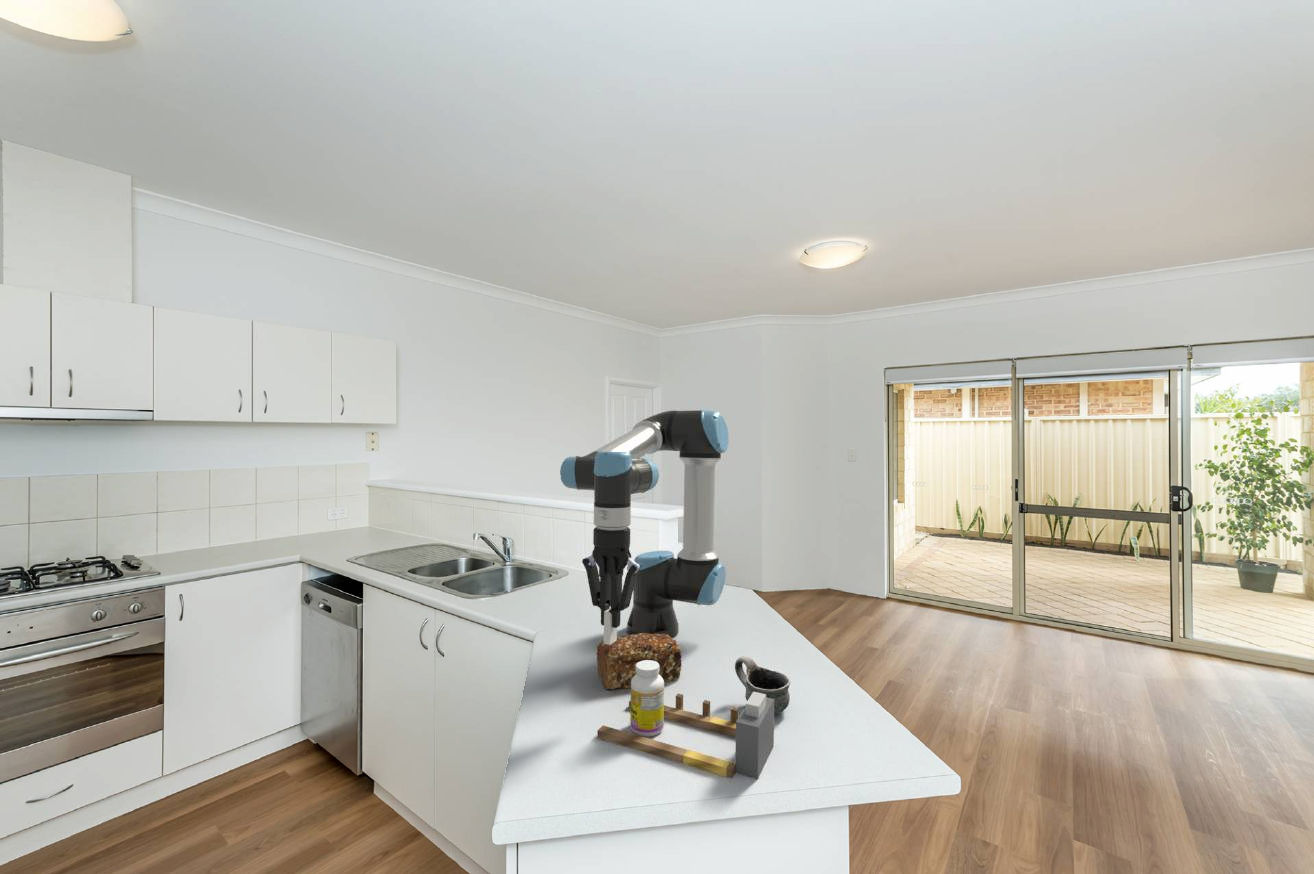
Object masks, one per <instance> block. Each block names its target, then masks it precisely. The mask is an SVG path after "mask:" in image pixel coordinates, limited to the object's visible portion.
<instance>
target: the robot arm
mask: <svg viewBox="0 0 1314 874" xmlns="http://www.w3.org/2000/svg"><path fill="white" fill-rule="evenodd" d="M728 430H729V429H728V426H727V422H726V419H725V418H724V416H723V415H722V413H720V412H719V411H716V410H707V409H704V410H703V409H701V410H667V411H662V412H659V413H657V414H654V415H651V416H649V417H647V418H645V419H642V420H640V421H639V422H637V423H636V424H635V425H634V426H633V428H632V429H631V430H630V431H627V433H624V434H622V435H620V436H619V437H617V438H615V439H614V440H612V441H610V442H609V443H606V444H605V445H603V446H601V447H599V448H597V449H596V450H593V451H591V452H590V453H588V454H586V455H584V456H579V455H575V456H567V457H565V459H564V460H563V461H562V463H561V464H560V465H561V466H560V469H559V470H560V471H559V475H560V480H561V483H562V485H563V486H564V487H566V488H568V489H573V490H577V491H580V490H581V491H582V490H584V491H593V492H594V493H593V495H594V498H593V499H594V500H593V501H594V502H593V525H594V526H595V527H594V529H593V530H592V531H593V537H592V543H593V546H594V548H593V549H592V553H591V555H589V556H588V557H585V558H582V561H581V563H582V565H583V567H584V568H585V571H586V577H587V582H588V587H589V592H590V599H591V603H592V606H593V607H597V608H599V609H600V625H601V626H603V640H604V644H608V645H611V644H612V643H614V642H615V641H617V638H618V636H617V635H618V633H617V631H618V628H619V627H620V625H621V612H622V611H624V610H626V609H628V608H629V607H630V604H631V601H632V600H633V601H632V608H631V611H630V614H629V617H628V620H627V623H626V633H627V635H632V634H640V633H648V634H668V635H669V636H670V637H671V638H672V639H673V638H675V637H677V636H678V634H679V622H678V621H679V620H678V619H677V615H676V611H675V610H674V609H675V608H674V601H676V602H682V603H683V602H684V603H689V604H693V605H694V604H695V605H698V606H702V605H703V606H712V605H715V604H716V603H717V602H718V601H719V599H720V597H721V595H722V593H723V590H724V588H725V587H724V586H725V583H726V574H727V573H726V567H725V565H724V564H722V563H720V562H719V561H720V559H719V554H718V553H717V552H716V551H715V550H714V536H715V534H714V533H715V531H714V530H715V493H716V492H715V491H716V490H715V489H716V488H715V484H716V482H715V481H716V465H717V463H718V462H720V460H721V458H722V457H721V456H722V454H723V453H725V452H727V450H728V448H729V447H728V445H729V432H728ZM661 451H666V452H667V451H669V452H671V451H672V452H679V456H678V457H679V460H681V461H682V462H683V464H684V476H683V477H684V479H683V481H684V482H683V517H682V518H683V522H682V523H683V527H682V528H683V529H682V549H681V550H680V551H679V552H678V553H677V555H676V558H675V554H674V552H673V551H670V550H655V551H647V552H644V553H640V554H638V555H636V556H635V558H634V559H633V558H632V553H631V551H630V546H631V528H630V527H629V526H630V525H631V517H632V516H631V512H632V511H631V510H632V509H631V504H632V503H631V500H632V495H634V494H640V493H641V494H643V493H646V492H649V491H650V490H653V488H655V487H656V486H657V484H658V481H659V477H660V472H659V471H660V470H659V468H658V467H657V465H656V463H655V462H654V461H652V460H651V459H648V458H643V457H644V456H645V455H650V454H651V455H652V454H655V453H656V452H661ZM626 566H627V567H626ZM625 568H626V571H627V572H626V574H625V577H624V582H623V576H624V569H625Z"/></svg>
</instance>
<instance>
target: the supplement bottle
mask: <svg viewBox="0 0 1314 874" xmlns="http://www.w3.org/2000/svg"><path fill="white" fill-rule="evenodd" d="M636 673H637V675H635V676H634V677H633V678H632V680H631V687H630V700H631V709H630V713H629V714H630V718H629V719H630V720H629V721H630V723H629V724H630V725H629V726H630V729H631V731H632V732H633V734H635V735H638V736H642V737H645V738H648V737H654V736H657V735H659V734H660V733H661V732H663V730H664V726H665V723H664V719H665V718H664V705H665V681H664V680H663V678H662V677H661V676H660V675H659V674H658V673H659V664H658V663H657V662H656V661H652V660H644V661H640V662H638V663H637V664H636Z"/></svg>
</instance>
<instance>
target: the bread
mask: <svg viewBox="0 0 1314 874" xmlns="http://www.w3.org/2000/svg"><path fill="white" fill-rule="evenodd" d="M596 650H597V651H596V662H597V663H596V664H597V673H598V677H599V679H600V680H601V683H602V685H603V686H604V688H605V690H611V691H614V690H616V689H618V688H622V689H624V688H625V689H628V688H630V689H631V680H632V678H633V677H634V676H635V675H637V673H636V664H637V663H638V662H640V661H644V660H652V661H656V662H657V663H658V664H659V673H658V674H659V675H660V676H661V677H662V678H663V680H664V682H665V683H666V682H669V681H674V682H675V681H677V680H679V679H680V678H681V672H682V651H681V650H682V649H681V645H679V644H678V643H677V640H676V639H673V638H671V637H670V636H669V635H668V634H648V633H640V634H632V635H628V634H627V635H622V636H617V641H615V642H614V643H612V644H611V645H608V644H604V639H603V640H601V641H600V642H599V643H598V644H597V646H596Z"/></svg>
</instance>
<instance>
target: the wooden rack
mask: <svg viewBox="0 0 1314 874" xmlns="http://www.w3.org/2000/svg"><path fill="white" fill-rule="evenodd" d="M628 709H629V710H631V699H630V700H628ZM738 718H739V707H735V706H732V707H731V708H730V720H726V719H723V718H718V717H715V716H714V717H713V716H711V701H710V700H707V699H705V700H703V702H702V714H699V713H695V712H691V711H688V710H684V694H681V693H677V694H676V695H675V707H672V706H668V705H665V704H664V719H667V720H670V721H674V722H679V723H682V724H686V725H689V726H692V727H697V728H701V729H703V730H708V731H710V732H711V731H712V732H716V733H719V734H722V735H727V736H731V737H734V738H736V721H737V719H738ZM596 731H597V736H596V737H597V739H600V740H603V741H605V742H609V743H613V744H616V745H619V746H623V747H627V748H629V749H633V750H635V751H639V752H642V753H646V754H648V755H652V756H655V757H659V758H661V759H666V760H669V761H673V762H676V763H679V764H683V766H688V767H691V768H694V769H697V770H701V771H704V772H707V773H711V774H713V775H718V776H721V777H723V778H729V779H733V777H734V776H735V774H736V773H735V764H734V762H731V761H728V760H726V759H721V758H718V757H715V756H712V755H708V754H705V753H701V752H698V751H694V750H691V749H686V748H683V747H680V746H677V745H673V744H669V743H666V742H662V741H659V740H655V739H652V738H648V737H644V736H639V735H637V734H635V733H632V732H627V731H625V730H624V731H623V730H620V729H617V728H614V727H610V726H607V725H602V726H600V727H599V729H597V730H596Z"/></svg>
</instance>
